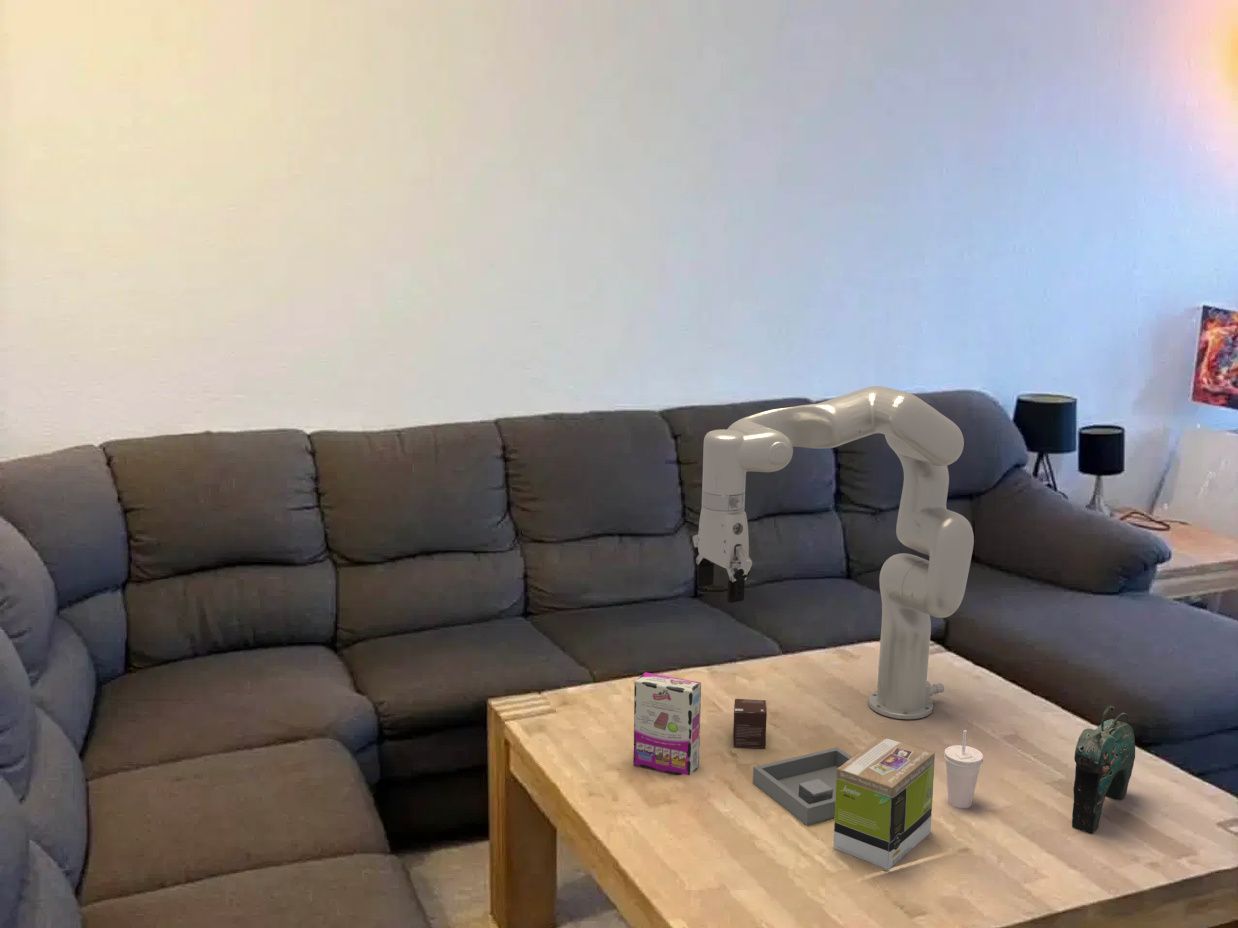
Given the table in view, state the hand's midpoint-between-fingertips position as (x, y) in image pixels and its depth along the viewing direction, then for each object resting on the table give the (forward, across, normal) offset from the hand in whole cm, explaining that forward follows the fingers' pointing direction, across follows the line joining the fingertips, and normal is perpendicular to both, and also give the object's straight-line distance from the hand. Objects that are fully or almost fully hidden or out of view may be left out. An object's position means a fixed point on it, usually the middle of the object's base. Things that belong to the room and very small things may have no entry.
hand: (720, 593), depth 222 cm
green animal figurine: (+31, -48, -46) cm, 73 cm away
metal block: (+30, -26, -3) cm, 40 cm away
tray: (+31, -22, -8) cm, 39 cm away
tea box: (+31, -39, -6) cm, 50 cm away
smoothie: (+31, -36, -26) cm, 54 cm away
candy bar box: (+31, -1, +11) cm, 33 cm away
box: (+31, +1, -8) cm, 32 cm away
